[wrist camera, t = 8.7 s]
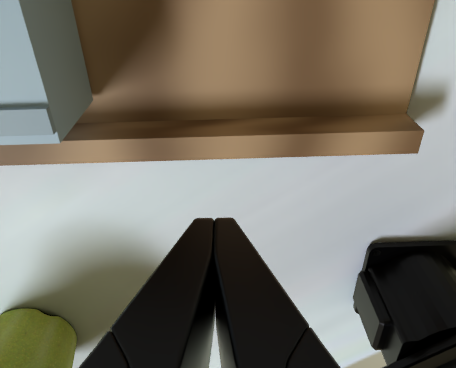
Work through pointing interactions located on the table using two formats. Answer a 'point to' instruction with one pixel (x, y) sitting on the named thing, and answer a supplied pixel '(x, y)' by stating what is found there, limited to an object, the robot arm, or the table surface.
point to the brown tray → (242, 80)
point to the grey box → (40, 72)
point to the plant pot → (35, 340)
